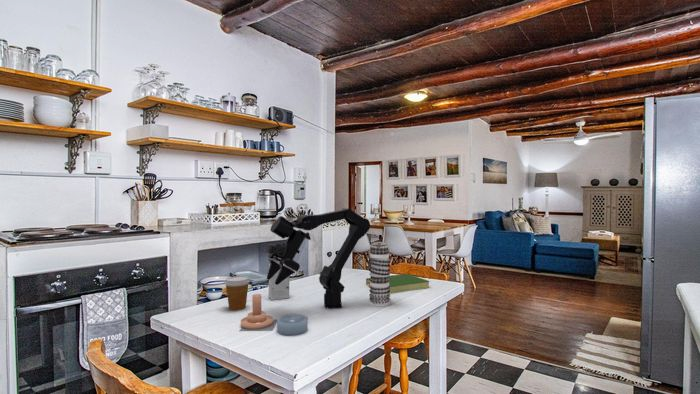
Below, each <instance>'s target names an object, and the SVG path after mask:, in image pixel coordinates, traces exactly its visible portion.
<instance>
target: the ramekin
mask: <svg viewBox="0 0 700 394" xmlns="http://www.w3.org/2000/svg"><path fill="white" fill-rule="evenodd" d="M276 319H277V323H276V332H277V334H279V335H282V336H289V337H290V336H293V337H294V336H299V335H302V334H305V333H306V332H308V329H309V327H308V324H309V323H308V316H307V315H306V314H301V313H289V314H284V315H281V316H279V317H277V318H276Z"/></svg>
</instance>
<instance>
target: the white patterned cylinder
mask: <svg viewBox="0 0 700 394" xmlns="http://www.w3.org/2000/svg"><path fill="white" fill-rule="evenodd" d="M369 247H370V250H369V252H370V253H369V255H368V257H367V259H368V263H369V264H368V271H369V276H370V278H371V281H370V286H368V288H369V296H368V297H369V304H370V305H371V306H375V307H385V306H388V305H390V304H391V302H390V301H391V293H389V292H390V290H389V289H390V286H389V276H391V273H390V272H391V269H390V267H391V264H390V263H391V262H392V261H390V260H389V259H390V258H391V255H390V253H389V248H390V245H388V243H387V242H385V241H374V242H372V243H371V245H370V246H369Z"/></svg>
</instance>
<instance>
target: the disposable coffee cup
mask: <svg viewBox="0 0 700 394" xmlns="http://www.w3.org/2000/svg"><path fill="white" fill-rule="evenodd" d="M250 282H251V281H250V279H249V277H248V276H246V275H245V276H244V275H238V276H235V275H234V276H230V277H226V278H225V281H224V284H225V288H226V294H227V295H226V296H227V304H228V309H229V311H241V310H244V309H247V308H246V307H247V299H248V292H249V283H250Z"/></svg>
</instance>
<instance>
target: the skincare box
mask: <svg viewBox="0 0 700 394" xmlns="http://www.w3.org/2000/svg"><path fill="white" fill-rule="evenodd" d="M283 265H284V264H283ZM269 267H270V263H269V264H268V268H269ZM279 272H280V270H279V271H278V272H277V273H276V274H275V275H274V276H273V277H272V278H271V279H270V280H268V297H269V299H270V301H275V300H283V299H289V298H290V277H291V275H290V276H289V277H287V278H286V279H284V280H283V281H282V282H281V283H279V284H278V285H276V284H275V281H276V279H277V276H278V274H279Z"/></svg>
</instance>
